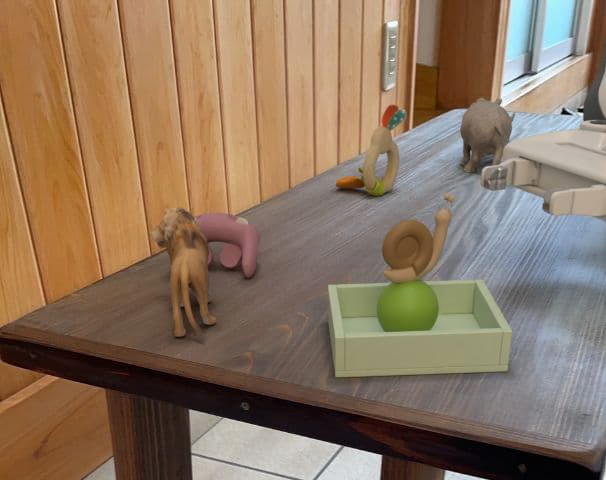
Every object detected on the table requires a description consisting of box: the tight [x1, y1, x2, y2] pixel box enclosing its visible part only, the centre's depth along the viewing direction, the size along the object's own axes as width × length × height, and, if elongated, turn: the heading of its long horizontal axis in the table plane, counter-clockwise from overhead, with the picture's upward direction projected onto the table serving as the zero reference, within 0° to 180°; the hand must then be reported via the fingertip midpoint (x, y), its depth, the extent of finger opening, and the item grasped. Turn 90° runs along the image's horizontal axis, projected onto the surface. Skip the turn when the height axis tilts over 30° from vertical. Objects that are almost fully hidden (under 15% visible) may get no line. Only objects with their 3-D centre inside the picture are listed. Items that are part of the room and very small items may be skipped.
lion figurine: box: [149, 206, 217, 339], centre depth 82 cm, size 15×5×9 cm, turn 15°
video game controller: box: [168, 212, 261, 279], centre depth 94 cm, size 10×5×7 cm, turn 80°
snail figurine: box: [377, 193, 455, 332], centre depth 73 cm, size 5×6×12 cm
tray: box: [327, 279, 513, 378], centre depth 76 cm, size 15×13×4 cm
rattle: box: [335, 104, 408, 197], centre depth 118 cm, size 8×8×12 cm
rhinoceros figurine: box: [459, 97, 516, 174], centre depth 128 cm, size 8×14×15 cm
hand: (514, 190), depth 72 cm, fingers open, 8 cm apart
